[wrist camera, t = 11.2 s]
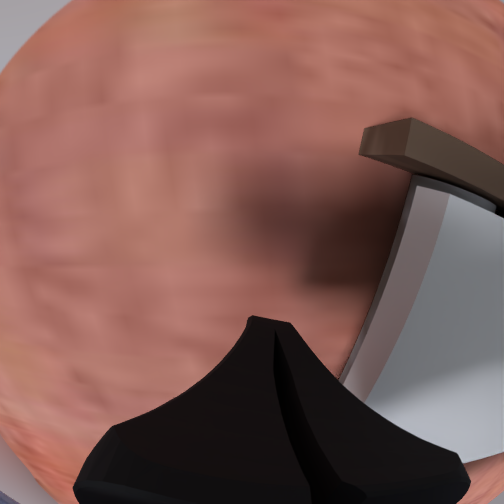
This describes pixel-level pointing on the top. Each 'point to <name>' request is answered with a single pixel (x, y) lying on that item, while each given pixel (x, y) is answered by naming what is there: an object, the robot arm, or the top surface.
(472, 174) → the roller bed
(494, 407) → the metal plate
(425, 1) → the top surface
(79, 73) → the top surface
